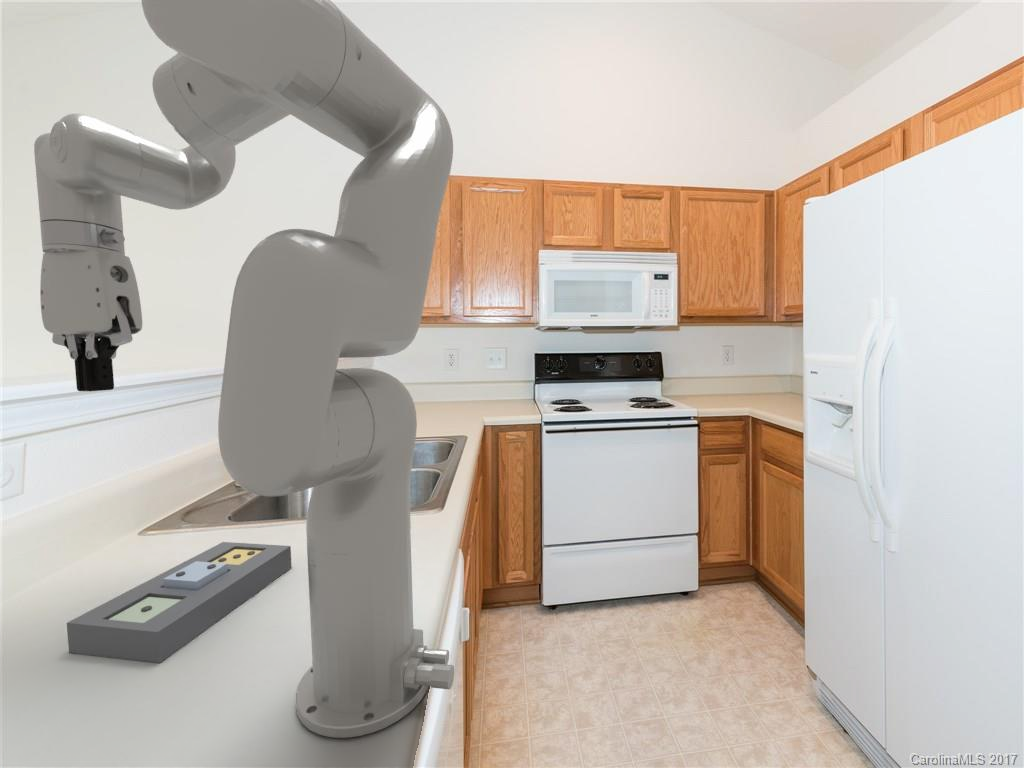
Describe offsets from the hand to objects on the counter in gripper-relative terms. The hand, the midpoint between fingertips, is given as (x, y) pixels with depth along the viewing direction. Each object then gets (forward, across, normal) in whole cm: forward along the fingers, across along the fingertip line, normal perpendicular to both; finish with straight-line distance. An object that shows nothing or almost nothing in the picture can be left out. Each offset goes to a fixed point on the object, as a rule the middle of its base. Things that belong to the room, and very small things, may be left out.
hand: (96, 390), depth 57 cm
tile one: (+28, -10, +4) cm, 30 cm away
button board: (+29, -10, -3) cm, 31 cm away
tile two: (+27, -10, -3) cm, 29 cm away
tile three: (+28, -10, -10) cm, 31 cm away
